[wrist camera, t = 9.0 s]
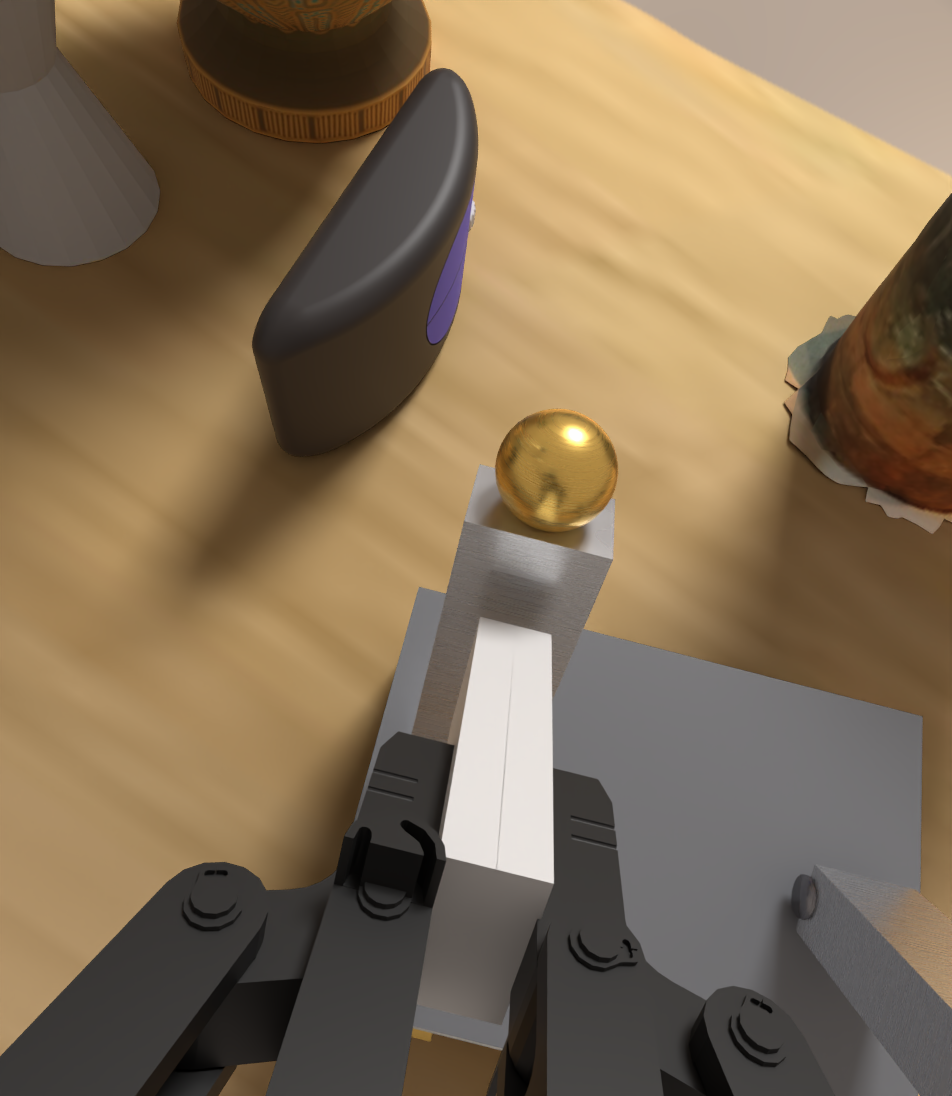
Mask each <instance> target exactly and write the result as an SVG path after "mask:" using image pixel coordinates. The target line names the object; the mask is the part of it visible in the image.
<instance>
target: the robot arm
mask: <svg viewBox="0 0 952 1096" xmlns="http://www.w3.org/2000/svg"><path fill="white" fill-rule="evenodd" d="M614 828H615V823H614V814H613V805H612V801H611V800H610V798H609V796H608V795H607V793H606V791H605V790H604V788H603V786H602V785H601V783H600V781H599V780H598V779H595V778H591V777H587V776H583V775H579V774H575V773H571V772H567V771H563V770H559V769H555V768H553V741H552V640H551V634H547V633H543V632H539V631H535V630H531V629H527V628H523V627H519V626H515V625H511V624H507V623H503V622H499V621H495V620H491V619H487V618H483V617H480V619H479V623H478V627H477V630H476V634H475V638H474V641H473V645H472V649H471V652H470V656H469V660H468V663H467V667H466V671H465V674H464V678H463V682H462V685H461V689H460V693H459V697H458V700H457V704H456V708H455V711H454V715H453V719H452V722H451V727H450V732H449V737H448V742H447V743H443V742H439V741H435V740H431V739H427V738H423V737H419V736H415V735H411V734H407V733H403V732H399V731H398V732H397V733H396V734H395V735H394V736H392V737H391V738H390V739H389V740H388V741H387V742H386V743H384V744H383V745H382V746H381V747H380V750H379V753H378V756H377V760H376V763H375V766H374V769H373V772H372V775H371V778H370V781H369V785H368V788H367V791H366V794H365V797H364V800H363V803H362V806H361V810H360V813H359V816H358V819H357V820H356V821H355V822H353V823H352V825H351V826H350V828H349V829H348V831H347V832H346V834H345V836H344V839H343V844H342V848H341V853H340V857H339V862H338V866H337V870H336V871H335V872H334V873H333V874H332V875H331V876H329V877H327V878H326V879H324V880H323V881H321V882H319V883H317V884H314V885H311V886H308V887H305V888H298V889H290V890H267V891H266V889H265V887H264V886H263V884H262V882H261V880H260V878H258V877H257V876H255V875H254V874H253V873H251V872H250V871H249V870H247V869H246V868H244V867H241V866H237V865H234V864H230V863H227V862H215V863H202V864H199V865H196V866H193V867H190V868H187V869H184V870H183V871H181V872H180V873H179V874H177V875H176V876H175V877H173V878H172V879H171V880H169V881H168V882H167V883H166V884H165V885H164V886H163V887H162V888H161V889H160V890H159V891H158V892H157V893H156V894H155V895H154V896H153V897H152V898H151V899H150V900H149V902H148V903H147V904H146V905H145V906H144V907H143V908H142V909H141V910H140V911H139V912H138V913H137V914H136V915H135V916H134V917H133V918H132V919H131V920H130V921H129V922H128V923H127V925H126V926H125V927H124V928H123V929H122V930H121V931H120V932H119V933H118V934H117V935H116V936H115V937H114V938H113V939H112V940H111V941H110V942H109V943H108V944H107V945H106V946H105V947H104V949H103V950H102V951H101V952H100V953H99V954H98V955H97V956H96V957H95V958H94V959H93V960H92V961H91V962H90V963H89V964H88V965H87V966H86V967H85V968H84V969H83V970H82V972H81V973H80V974H79V975H78V976H77V977H76V978H75V979H74V980H73V981H72V982H71V983H70V984H69V985H68V986H67V987H66V988H65V989H64V990H63V991H62V992H61V993H60V994H59V996H58V997H57V998H56V999H55V1000H54V1001H53V1002H52V1003H51V1004H50V1005H49V1006H48V1007H47V1008H46V1009H45V1010H44V1011H43V1012H42V1013H41V1014H40V1015H39V1016H38V1017H37V1019H36V1020H35V1021H34V1022H33V1023H32V1024H31V1025H30V1026H29V1027H28V1028H27V1029H26V1030H25V1031H24V1032H23V1033H22V1034H21V1035H20V1036H19V1037H18V1038H17V1039H16V1040H15V1041H14V1043H13V1044H12V1045H11V1046H10V1047H9V1048H8V1049H7V1050H6V1051H5V1052H4V1053H3V1054H2V1055H1V1056H0V1096H218V1095H219V1094H220V1092H221V1091H222V1089H223V1088H224V1086H225V1084H226V1083H227V1081H228V1080H229V1078H230V1077H231V1075H232V1074H233V1072H234V1070H235V1069H236V1067H237V1065H241V1064H251V1063H260V1062H269V1061H277V1062H276V1065H275V1068H274V1071H273V1074H272V1077H271V1080H270V1083H269V1086H268V1090H267V1093H266V1096H402V1091H403V1085H404V1078H405V1072H406V1066H407V1060H408V1054H409V1048H410V1042H411V1036H412V1030H413V1024H414V1018H415V1012H416V1006H417V1005H420V1006H424V1007H428V1008H432V1009H436V1010H441V1011H445V1012H449V1013H453V1014H457V1015H461V1016H465V1017H469V1018H473V1019H477V1020H481V1021H485V1022H489V1023H493V1024H498V1025H502V1022H503V1020H504V1017H505V1014H506V1012H507V1009H508V1006H509V1004H510V1010H509V1030H508V1036H507V1039H506V1042H505V1044H504V1047H503V1050H502V1052H501V1055H500V1058H499V1060H498V1063H497V1065H496V1068H495V1071H494V1073H493V1076H492V1079H491V1081H490V1084H489V1087H488V1091H487V1095H486V1096H835V1094H834V1092H833V1090H832V1088H831V1086H830V1085H829V1083H828V1081H827V1079H826V1077H825V1075H824V1073H823V1071H822V1069H821V1068H820V1066H819V1064H818V1062H817V1060H816V1058H815V1056H814V1054H813V1052H812V1051H811V1049H810V1047H809V1045H808V1043H807V1041H806V1039H805V1037H804V1036H803V1034H802V1033H801V1031H800V1030H799V1029H798V1027H797V1026H796V1024H795V1023H794V1021H793V1020H792V1019H791V1017H790V1016H789V1015H788V1014H787V1013H785V1012H784V1011H783V1010H782V1009H781V1008H780V1007H779V1006H778V1005H776V1004H775V1003H774V1002H773V1001H772V1000H770V999H768V998H766V997H765V996H763V995H761V994H759V993H757V992H755V991H753V990H751V989H746V988H741V987H736V986H730V987H725V988H720V989H717V990H716V991H715V992H714V993H713V994H712V995H711V996H710V997H709V998H708V999H707V1000H705V999H703V998H701V997H700V996H698V995H696V994H694V993H692V992H690V991H689V990H687V989H685V988H683V987H681V986H680V985H678V984H676V983H674V982H672V981H671V980H669V979H668V978H666V977H665V976H663V975H662V974H660V973H659V972H657V971H656V970H655V969H654V968H653V967H652V966H651V965H650V964H649V963H648V962H647V961H646V960H645V957H644V954H643V951H642V948H641V945H640V942H639V941H638V940H637V938H636V937H635V936H634V934H633V933H632V932H631V930H630V929H629V928H628V927H627V925H626V920H625V911H624V903H623V894H622V885H621V876H620V867H619V858H618V850H616V848H617V840H616V831H614ZM496 1093H497V1094H496Z"/></svg>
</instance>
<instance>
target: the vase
mask: <svg viewBox="0 0 952 1096" xmlns="http://www.w3.org/2000/svg"><path fill="white" fill-rule="evenodd" d="M177 26H178V30H179V34H180V39H181V43H182V47H183V51H184V55H185V59H186V63H187V66H188V70H189V74H190V78H191V79H192V81H193V82H194V84H195V85H196V87H197V88H198V90H199V91H200V93H201V95H202V96H203V98H204V99H205V100H206V101H207V102H208V103H210V104H211V105H212V106H213V107H214V108H215V109H217V110H218V111H219V112H220V113H221V114H222V115H224V116H225V117H226V118H228V119H230V120H232V121H234V122H236V123H238V124H240V125H241V126H243V127H245V128H247V129H249V130H251V131H253V132H256V133H260V134H263V135H267V136H271V137H275V138H278V139H282V140H286V141H298V142H313V143H325V142H333V141H340V140H348V139H354V138H357V137H360V136H363V135H366V134H369V133H371V132H374V131H377V130H380V129H383V128H384V127H386V126H387V125H389V124H390V123H391V122H392V120H393V119H394V118H395V116H396V115H397V113H398V112H399V110H400V109H401V107H402V106H403V104H404V103H405V102H406V100H407V99H408V97H409V96H410V94H411V93H412V91H413V90H414V88H415V87H416V85H417V84H418V83H419V81H420V80H421V79H422V78H423V77H424V76H425V75H426V74H428V73H429V72H430V58H431V20H430V18H429V15H428V12H427V10H426V7H425V5H424V2H423V0H181V1H180V7H179V13H178V20H177Z"/></svg>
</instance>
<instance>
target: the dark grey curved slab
mask: <svg viewBox="0 0 952 1096" xmlns="http://www.w3.org/2000/svg"><path fill="white" fill-rule="evenodd" d="M477 159H478V127H477V120H476V114H475V109H474V105H473V101H472V98H471V95H470V92H469V90H468V88H467V86H466V84H465V83H464V81H463V80H462V79H461V78H460V77H459V76H458V75H457V74H456V73H455V72H454V71H452V70H450V69H446V68H440V69H435V70H433V71H431V72H429V73H428V74H426V75H425V76H424V77H423V78H422V79H421V80H420V81H419V83H418V84H417V85H416V87H415V88H414V90H413V91H412V93H411V94H410V96H409V97H408V99H407V100H406V102H405V103H404V104H403V106H402V107H401V109H400V110H399V112H398V113H397V115H396V116H395V118H394V119H393V120H392V122H391V123H390V125H389V126H388V128H387V129H386V131H385V132H384V134H383V135H382V136H381V138H380V139H379V141H378V142H377V144H376V145H375V147H374V148H373V150H372V151H371V153H370V154H369V155H368V157H367V158H366V160H365V161H364V163H363V164H362V166H361V167H360V169H359V170H358V171H357V173H356V174H355V176H354V177H353V179H352V180H351V182H350V183H349V185H348V186H347V188H346V189H345V190H344V192H343V193H342V195H341V196H340V198H339V199H338V201H337V202H336V204H335V205H334V206H333V208H332V209H331V211H330V212H329V214H328V215H327V217H326V218H325V220H324V221H323V222H322V224H321V225H320V227H319V228H318V230H317V231H316V233H315V234H314V236H313V237H312V239H311V240H310V241H309V243H308V244H307V246H306V247H305V249H304V250H303V252H302V253H301V255H300V256H299V257H298V259H297V260H296V262H295V263H294V265H293V266H292V268H291V269H290V271H289V272H288V274H287V275H286V276H285V278H284V279H283V281H282V282H281V284H280V285H279V287H278V288H277V290H276V291H275V292H274V294H273V295H272V297H271V298H270V300H269V301H268V303H267V304H266V306H265V308H264V310H263V311H262V314H261V316H260V318H259V320H258V323H257V326H256V328H255V332H254V335H253V340H252V348H253V353H254V356H255V360H256V364H257V368H258V371H259V375H260V379H261V383H262V386H263V390H264V394H265V397H266V401H267V405H268V409H269V412H270V416H271V420H272V424H273V427H274V431H275V435H276V438H277V442H278V444H279V445H280V447H281V448H282V449H283V450H284V451H285V452H287V453H288V454H291V455H294V456H312V455H317V454H321V453H325V452H328V451H330V450H333V449H335V448H337V447H339V446H341V445H343V444H345V443H347V442H349V441H351V440H353V439H354V438H356V437H358V436H359V435H361V434H362V433H364V432H366V431H367V430H369V429H370V428H371V427H373V426H374V425H376V424H377V423H378V422H380V421H381V420H382V419H383V418H385V417H386V416H387V415H388V414H389V413H391V412H392V411H393V410H394V409H395V408H396V407H397V406H398V405H399V404H400V403H401V402H402V401H403V400H404V399H405V398H406V397H407V396H408V395H409V394H410V393H411V392H412V391H413V389H414V388H415V387H416V386H417V385H418V383H419V382H420V381H421V380H422V378H423V377H424V376H425V374H426V373H427V371H428V370H429V368H430V367H431V365H432V364H433V362H434V361H435V359H436V357H437V356H438V354H439V352H440V350H441V349H442V346H443V344H444V342H445V340H446V338H447V336H448V334H449V331H450V328H451V326H452V323H453V320H454V317H455V314H456V310H457V307H458V302H459V298H460V292H461V285H462V277H463V269H464V261H465V253H466V246H467V238H468V232H469V231H470V230H471V227H472V226H473V224H474V219H475V212H476V208H475V203H474V201H473V191H474V183H475V175H476V167H477ZM431 320H432V321H431Z"/></svg>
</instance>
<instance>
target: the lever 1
mask: <svg viewBox="0 0 952 1096" xmlns="http://www.w3.org/2000/svg"><path fill="white" fill-rule="evenodd" d="M617 477H618V461H617V455H616V452H615V449H614V446H613V444H612V442H611V440H610V438H609V437H608V435H607V434H606V433H605V431H604V430H603V429H602V428H601V427H600V426H599V425H598V424H597V423H596V422H594V421H593V420H592V419H590V418H589V417H587V416H585V415H583V414H581V413H578V412H575V411H572V410H566V409H548V410H543V411H539V412H536V413H534V414H532V415H530V416H527V417H526V418H524V419H523V420H521V421H520V422H518V423H517V424H516V425H515V426H514V427H513V428H512V429H511V430H510V431H509V433H508V434H507V435H506V437H505V438H504V440H503V442H502V444H501V446H500V448H499V451H498V454H497V458H496V465H495V468H492V467H488V466H484V465H479V469H478V472H477V476H476V480H475V483H474V487H473V491H472V494H471V498H470V502H469V505H468V509H467V513H466V516H465V520H464V524H463V528H462V532H461V536H460V540H459V544H458V548H457V552H456V556H455V560H454V564H453V568H452V572H451V576H450V581H449V585H448V589H447V593H446V597H445V601H444V605H443V609H442V613H441V617H440V621H439V625H438V629H437V633H436V637H435V641H434V645H433V649H432V653H431V657H430V661H429V665H428V669H427V673H426V677H425V681H424V685H423V689H422V693H421V697H420V701H419V705H418V709H417V714H416V718H415V722H414V726H413V730H412V734H411V735H415V736H419V737H423V738H427V739H431V740H435V741H439V742H443V743H447V742H448V737H449V732H450V727H451V722H452V719H453V715H454V711H455V708H456V704H457V700H458V697H459V693H460V689H461V685H462V682H463V678H464V674H465V671H466V667H467V663H468V660H469V656H470V652H471V649H472V645H473V641H474V638H475V634H476V630H477V627H478V623H479V619H480V617H483V618H487V619H491V620H495V621H499V622H503V623H507V624H511V625H515V626H519V627H523V628H527V629H531V630H535V631H539V632H543V633H547V634H551V640H552V700H553V698H554V696H555V693H556V691H557V689H558V686H559V684H560V682H561V679H562V677H563V675H564V672H565V670H566V668H567V665H568V663H569V661H570V658H571V656H572V654H573V651H574V649H575V647H576V644H577V642H578V640H579V637H580V635H581V633H582V630H583V628H584V626H585V623H586V621H587V619H588V616H589V614H590V612H591V609H592V607H593V605H594V602H595V600H596V598H597V595H598V593H599V591H600V589H601V586H602V584H603V582H604V579H605V577H606V575H607V572H608V570H609V568H610V565H611V563H612V561H613V544H614V514H615V499H611V497H612V495H613V493H614V491H615V487H616V484H617Z"/></svg>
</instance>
